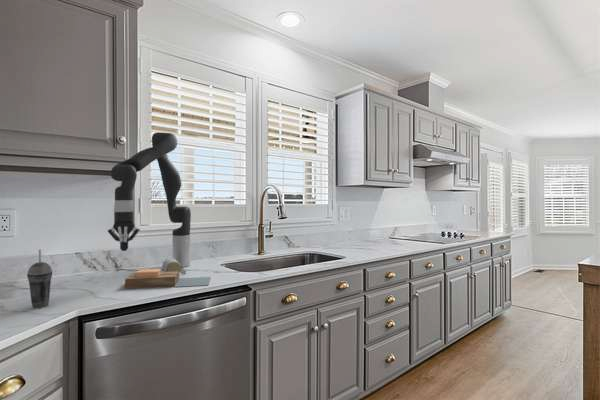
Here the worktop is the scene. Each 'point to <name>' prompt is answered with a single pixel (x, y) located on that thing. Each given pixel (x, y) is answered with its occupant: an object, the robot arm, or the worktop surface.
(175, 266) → the ceramic mug
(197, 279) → the mat
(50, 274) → the beverage cup
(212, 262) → the worktop surface
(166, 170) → the robot arm
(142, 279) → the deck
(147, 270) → the orange tan rectangular block
